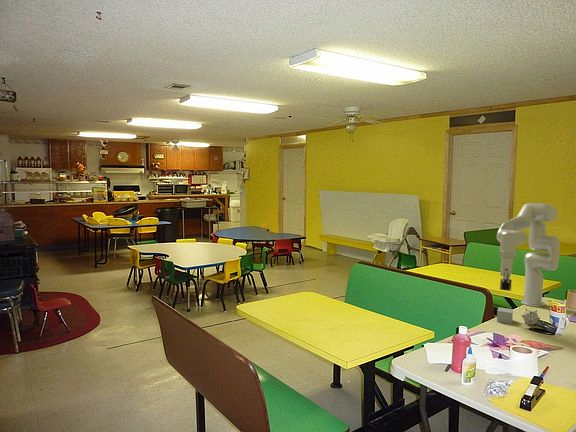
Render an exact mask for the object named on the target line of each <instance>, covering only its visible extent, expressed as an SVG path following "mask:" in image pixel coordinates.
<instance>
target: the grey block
mask: <svg viewBox="0 0 576 432" xmlns="http://www.w3.org/2000/svg"><path fill="white" fill-rule="evenodd" d="M513 314H514V309H513V308H512V309H511V308H505V307H498V308H497V311H496V322H497V321H498V322H497V323H503V324H510V325H512V323H513Z"/></svg>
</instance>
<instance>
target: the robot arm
mask: <svg viewBox="0 0 576 432" xmlns="http://www.w3.org/2000/svg"><path fill="white" fill-rule="evenodd" d="M557 217H558V209H556V207H555V206H553V205H550V204H549V203H542V202H541V203H539V202H529V203H525V204H523V205H522V207H521V209H520V210H519V212H518V213H517V214H516V216H515V217H514V218H511V219H509V220H507V221H504V222H503V223H502V224H501V225H500V227H499V229H498V230H497V232H496V240H497V241H498V242H499V243H500V244H499V246H500V247H499V258H500V259H501V262H500V271H499V272H500V277H502V279H503V282H502V290H501V291H507V290H509V279H510V278H511V275H512V273H513V272H512V271H513V264H514V263H513V262H514V260H515V259H516V255H517V245H519V246H521V245H523V244H525V243H527V238H528V247H529V249H530V250H532V251H531V252H527V253H525V255H524V259H523V260H524V268H525V273H524V274H525V275H524V290H523V292H524V293H523V298H522V299H521V300H520V303H521V304H522V305H524V306H529V307H536V308H537V307H539V308H541V307H544V306H545V305H546V304H545V302H543V292H544V291H543V289H544V274H543V273H542V270H543V271H552V272H554V271H556V270H557V269H558V268H559V267H558V266H559V262H560V261H559V259H560V248H561V247H560V246H561V244H560V239H559V238H558V237H557V236H555V235H547V233H546V232H547V226H546V224H545V223H544V222H549V223H550V222H555V220H557ZM528 228H529V232H528V236H527V234H526V233H525V232H524V231H522V230H525V229H528ZM533 250H534V251H540V252H533ZM543 252H547V253H543ZM510 280H511V279H510Z"/></svg>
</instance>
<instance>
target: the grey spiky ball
mask: <svg viewBox="0 0 576 432" xmlns="http://www.w3.org/2000/svg"><path fill="white" fill-rule="evenodd" d="M537 312H538V309H537V310H529V309H527V308H525V312H524V313H523V315H521V318H523V321H524V325H531V326H535V325H534V324H535V323H536V324H537V323H538V321H539V320H541V317H539V315H538V313H537Z"/></svg>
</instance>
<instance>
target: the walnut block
mask: <svg viewBox="0 0 576 432" xmlns="http://www.w3.org/2000/svg"><path fill="white" fill-rule="evenodd" d="M502 282H503V278H501V279H500V284H499V290H500V291H503V290H502ZM512 282H513V281H512V279H509V290H506V291H509V292H511V291H512Z"/></svg>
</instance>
